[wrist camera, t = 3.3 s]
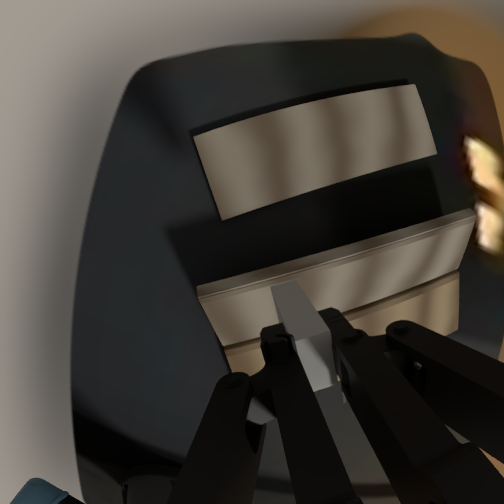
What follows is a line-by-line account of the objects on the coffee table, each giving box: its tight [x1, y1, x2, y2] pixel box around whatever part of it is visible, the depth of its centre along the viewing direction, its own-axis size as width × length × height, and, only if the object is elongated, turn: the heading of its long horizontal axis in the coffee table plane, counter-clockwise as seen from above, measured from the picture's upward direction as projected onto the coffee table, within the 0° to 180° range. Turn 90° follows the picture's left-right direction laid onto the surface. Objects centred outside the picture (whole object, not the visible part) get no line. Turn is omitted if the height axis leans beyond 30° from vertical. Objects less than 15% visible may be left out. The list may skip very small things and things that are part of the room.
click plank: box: [197, 208, 477, 346], centre depth 27 cm, size 28×8×1 cm, turn 105°
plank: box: [193, 84, 437, 221], centre depth 27 cm, size 24×8×1 cm, turn 109°
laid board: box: [224, 270, 459, 381], centre depth 31 cm, size 28×8×1 cm, turn 105°
